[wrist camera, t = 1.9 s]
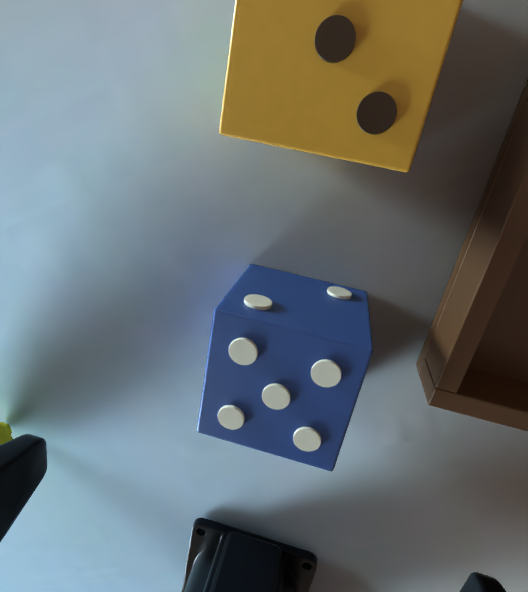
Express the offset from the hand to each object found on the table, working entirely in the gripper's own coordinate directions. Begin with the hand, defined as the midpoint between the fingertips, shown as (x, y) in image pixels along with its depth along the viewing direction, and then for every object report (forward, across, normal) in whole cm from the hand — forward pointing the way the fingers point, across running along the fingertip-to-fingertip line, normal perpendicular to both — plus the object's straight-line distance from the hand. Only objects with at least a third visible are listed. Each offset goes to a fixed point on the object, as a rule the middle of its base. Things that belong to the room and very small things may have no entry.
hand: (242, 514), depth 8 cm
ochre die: (+8, 0, -9) cm, 12 cm away
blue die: (+8, 0, 0) cm, 9 cm away
